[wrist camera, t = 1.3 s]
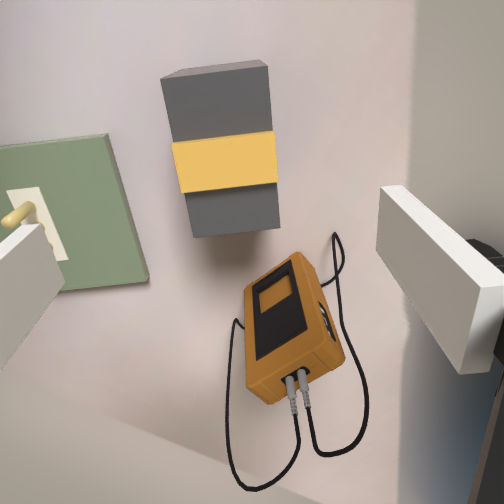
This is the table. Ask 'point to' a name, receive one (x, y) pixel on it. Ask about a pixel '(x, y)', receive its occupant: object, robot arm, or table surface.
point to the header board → (73, 208)
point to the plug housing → (224, 146)
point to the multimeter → (291, 344)
